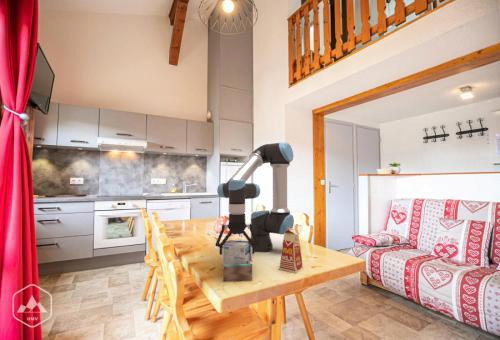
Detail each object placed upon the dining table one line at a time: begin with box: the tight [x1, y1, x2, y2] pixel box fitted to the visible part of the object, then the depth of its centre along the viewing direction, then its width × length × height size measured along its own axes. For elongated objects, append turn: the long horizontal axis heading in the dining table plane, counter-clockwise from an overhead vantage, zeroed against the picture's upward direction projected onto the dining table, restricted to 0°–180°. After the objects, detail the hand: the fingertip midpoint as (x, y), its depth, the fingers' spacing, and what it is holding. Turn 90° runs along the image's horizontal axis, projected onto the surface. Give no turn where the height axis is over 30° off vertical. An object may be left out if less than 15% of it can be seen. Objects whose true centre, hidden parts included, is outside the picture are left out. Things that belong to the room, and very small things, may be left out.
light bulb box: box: [223, 239, 251, 266], centre depth 111 cm, size 11×7×11 cm, turn 71°
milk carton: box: [278, 227, 304, 274], centre depth 119 cm, size 9×9×20 cm
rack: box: [223, 263, 253, 283], centre depth 118 cm, size 12×28×7 cm, turn 5°
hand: (237, 261), depth 111 cm, fingers closed on light bulb box, 12 cm apart
